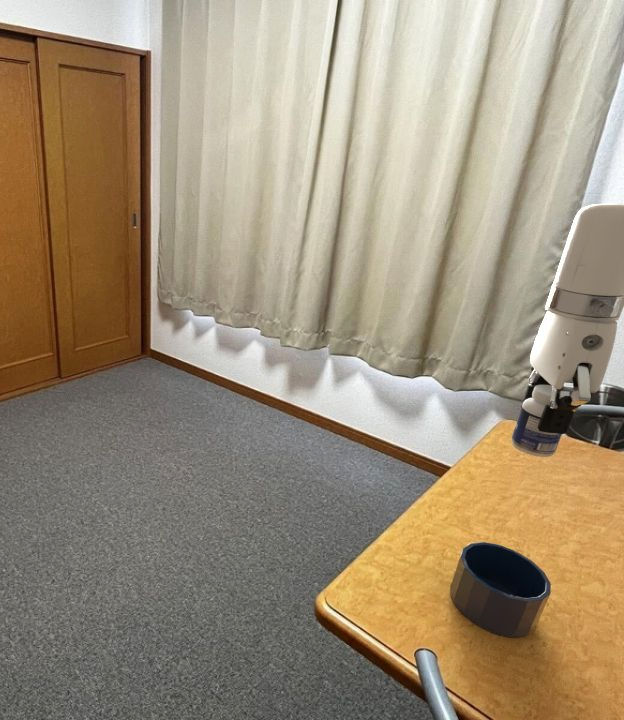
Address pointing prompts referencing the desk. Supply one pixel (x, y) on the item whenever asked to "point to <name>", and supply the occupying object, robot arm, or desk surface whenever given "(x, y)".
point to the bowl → (499, 589)
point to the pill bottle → (535, 425)
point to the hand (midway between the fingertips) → (542, 419)
